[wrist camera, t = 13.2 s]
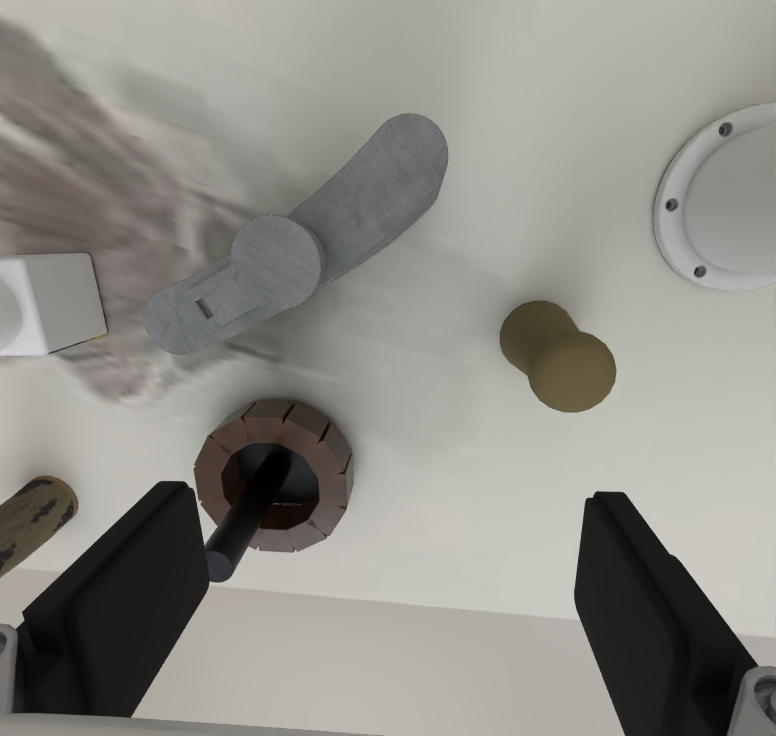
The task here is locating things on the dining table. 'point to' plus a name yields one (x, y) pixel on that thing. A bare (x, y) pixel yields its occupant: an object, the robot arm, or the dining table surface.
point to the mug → (33, 518)
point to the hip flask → (307, 240)
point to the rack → (258, 501)
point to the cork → (557, 357)
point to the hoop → (298, 434)
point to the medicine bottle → (48, 303)
